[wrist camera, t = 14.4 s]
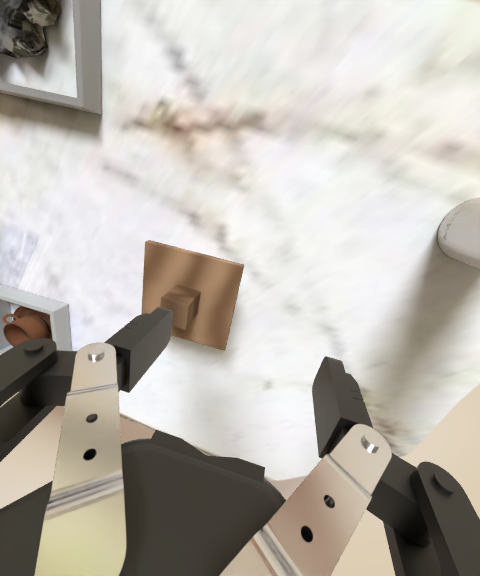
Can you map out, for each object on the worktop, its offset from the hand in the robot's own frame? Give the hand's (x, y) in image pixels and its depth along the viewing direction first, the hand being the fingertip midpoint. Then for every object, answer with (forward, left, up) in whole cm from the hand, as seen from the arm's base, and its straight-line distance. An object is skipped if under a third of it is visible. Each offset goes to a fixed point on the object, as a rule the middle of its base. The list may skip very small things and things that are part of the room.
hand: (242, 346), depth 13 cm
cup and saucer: (+51, +36, -34) cm, 71 cm away
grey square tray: (+52, +36, -33) cm, 71 cm away
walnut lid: (+11, +11, -24) cm, 28 cm away
